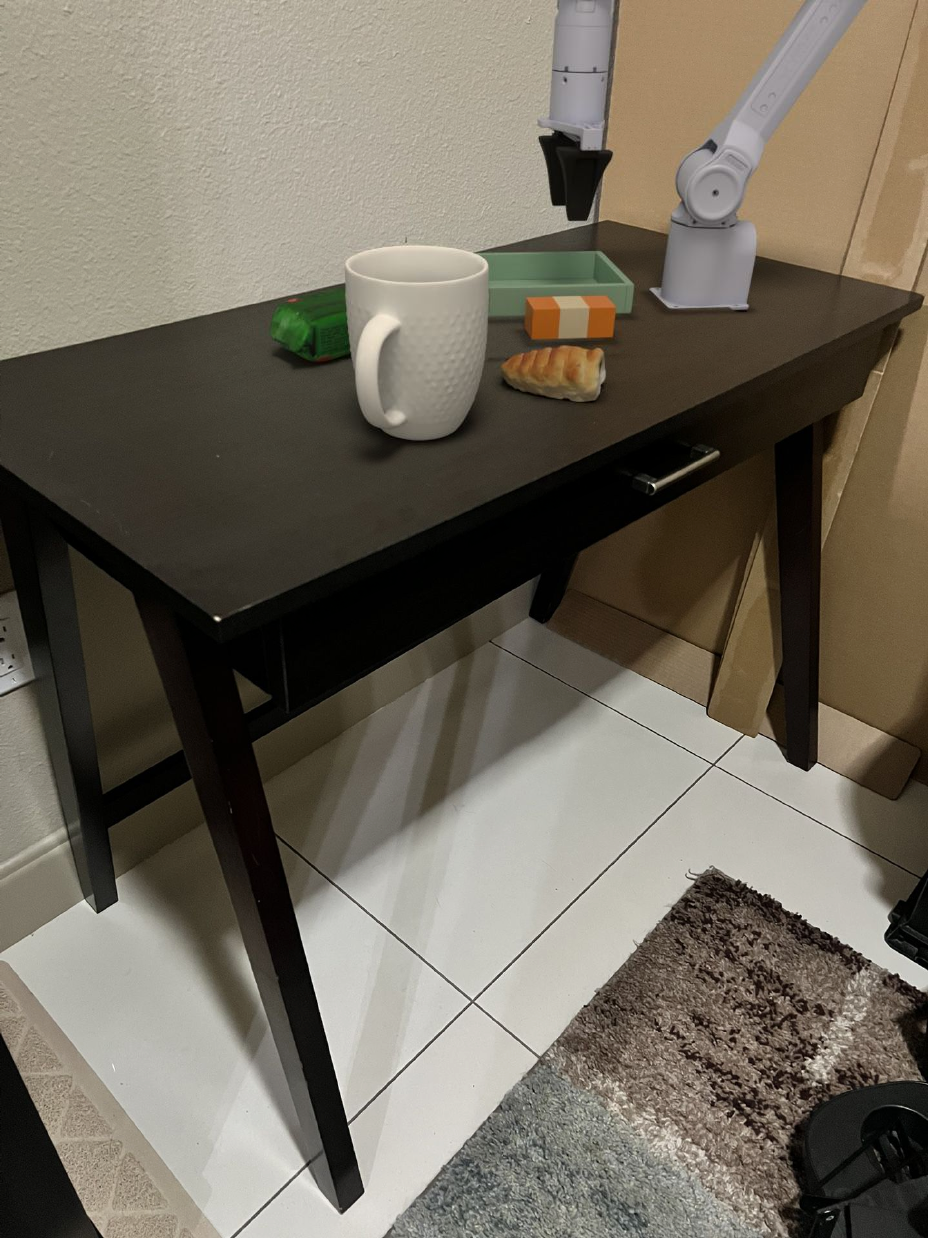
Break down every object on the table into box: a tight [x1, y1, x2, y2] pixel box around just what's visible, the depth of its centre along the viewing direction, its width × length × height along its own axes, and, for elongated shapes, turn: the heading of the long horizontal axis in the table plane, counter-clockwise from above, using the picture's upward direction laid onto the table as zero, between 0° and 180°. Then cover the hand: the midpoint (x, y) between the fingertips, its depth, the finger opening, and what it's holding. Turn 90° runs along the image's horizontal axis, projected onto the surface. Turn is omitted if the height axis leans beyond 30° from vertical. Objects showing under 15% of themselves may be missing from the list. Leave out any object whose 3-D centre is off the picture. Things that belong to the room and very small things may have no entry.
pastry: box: [500, 344, 607, 403], centre depth 83 cm, size 9×7×4 cm
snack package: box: [269, 286, 351, 363], centre depth 91 cm, size 7×16×5 cm, turn 131°
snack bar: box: [524, 296, 617, 340], centre depth 95 cm, size 8×4×4 cm, turn 97°
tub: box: [474, 250, 635, 318], centre depth 106 cm, size 17×15×4 cm
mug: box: [344, 244, 489, 441], centre depth 72 cm, size 15×11×13 cm
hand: (569, 212), depth 102 cm, fingers open, 7 cm apart
